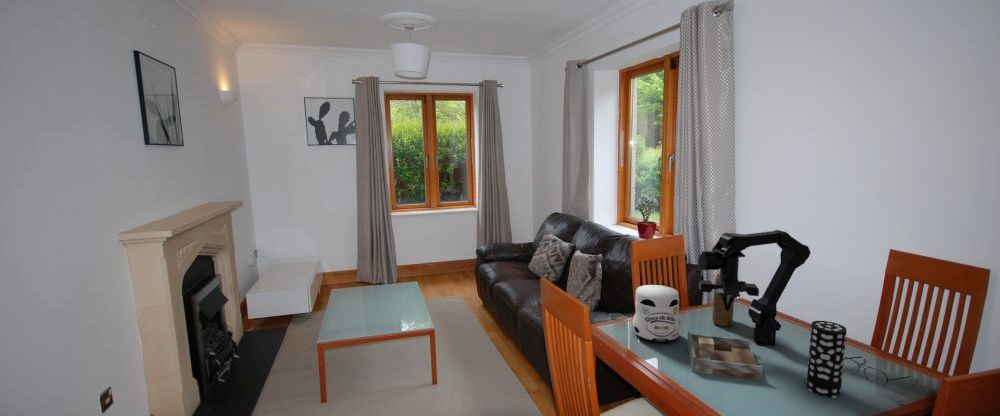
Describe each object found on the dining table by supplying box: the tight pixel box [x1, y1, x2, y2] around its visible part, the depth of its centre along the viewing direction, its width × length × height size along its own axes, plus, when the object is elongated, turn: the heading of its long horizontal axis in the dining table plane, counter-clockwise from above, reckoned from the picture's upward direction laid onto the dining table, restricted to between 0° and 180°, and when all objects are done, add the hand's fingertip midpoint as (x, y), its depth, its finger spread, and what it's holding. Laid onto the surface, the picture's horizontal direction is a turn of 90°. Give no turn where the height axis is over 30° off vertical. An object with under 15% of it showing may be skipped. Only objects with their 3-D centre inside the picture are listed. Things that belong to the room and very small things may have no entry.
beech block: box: [698, 337, 714, 357], centre depth 155 cm, size 4×4×4 cm
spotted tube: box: [805, 320, 847, 399], centre depth 133 cm, size 8×8×20 cm
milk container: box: [632, 284, 681, 343], centre depth 173 cm, size 17×17×18 cm
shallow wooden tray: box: [687, 331, 763, 381], centre depth 153 cm, size 20×20×5 cm
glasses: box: [844, 356, 912, 387], centre depth 144 cm, size 14×15×5 cm
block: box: [711, 273, 734, 327], centre depth 184 cm, size 11×8×20 cm
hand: (726, 310), depth 164 cm, fingers closed
